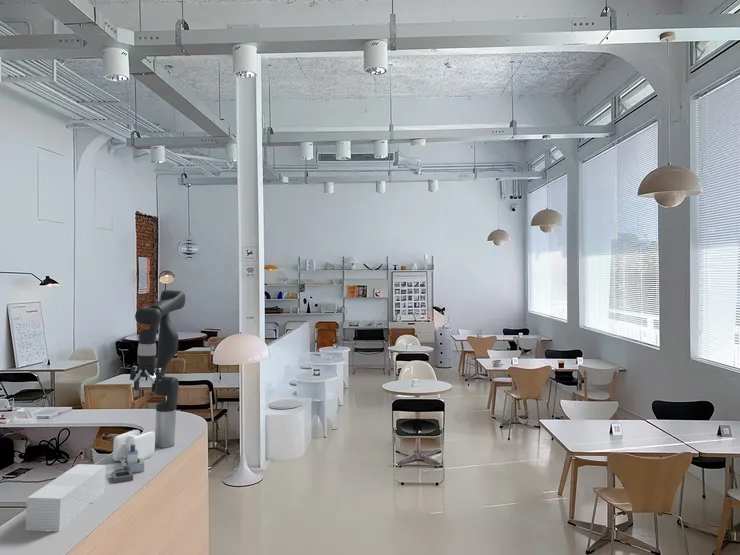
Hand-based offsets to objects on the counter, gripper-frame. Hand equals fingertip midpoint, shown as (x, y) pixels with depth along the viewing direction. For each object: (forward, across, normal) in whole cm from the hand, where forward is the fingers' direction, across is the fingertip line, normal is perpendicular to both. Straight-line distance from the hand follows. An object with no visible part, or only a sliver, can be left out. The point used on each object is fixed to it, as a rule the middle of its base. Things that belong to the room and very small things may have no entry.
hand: (145, 390), depth 241 cm
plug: (+32, -1, +9) cm, 33 cm away
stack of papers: (+33, -6, +48) cm, 58 cm away
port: (+32, -1, +8) cm, 33 cm away
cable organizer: (+32, +8, -4) cm, 34 cm away
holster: (+32, -4, +18) cm, 37 cm away
